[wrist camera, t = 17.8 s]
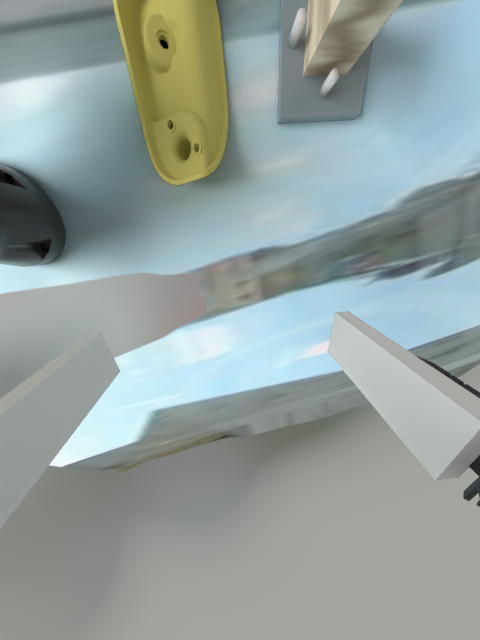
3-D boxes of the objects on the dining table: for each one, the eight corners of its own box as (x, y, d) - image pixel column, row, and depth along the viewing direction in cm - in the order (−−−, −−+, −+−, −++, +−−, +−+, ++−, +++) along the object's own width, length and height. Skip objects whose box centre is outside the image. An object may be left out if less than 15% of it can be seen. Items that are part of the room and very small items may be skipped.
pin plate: (277, 123, 27) (286, 105, 23) (281, -41, 21) (294, -104, 17) (354, 119, 28) (375, 100, 24) (379, -43, 22) (414, -106, 18)
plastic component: (106, -23, 20) (177, -101, 16) (157, 39, 26) (217, -6, 22) (157, 191, 27) (213, 174, 23) (187, 200, 33) (236, 187, 30)
